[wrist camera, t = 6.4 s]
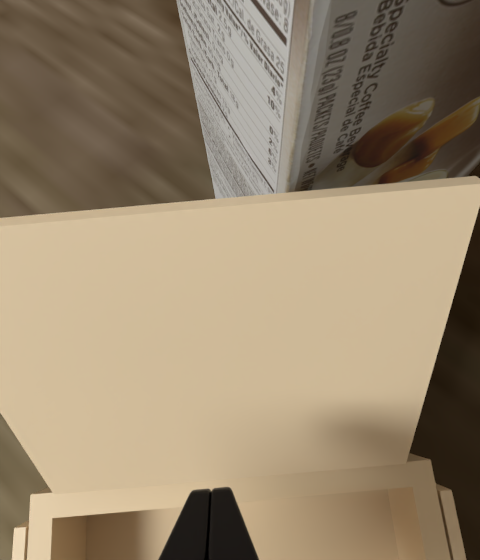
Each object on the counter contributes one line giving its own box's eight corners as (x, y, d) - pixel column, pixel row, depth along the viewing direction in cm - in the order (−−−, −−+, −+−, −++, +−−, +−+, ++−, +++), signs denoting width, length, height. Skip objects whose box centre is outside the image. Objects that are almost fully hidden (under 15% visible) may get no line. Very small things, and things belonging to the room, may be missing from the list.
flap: (486, 183, 8) (473, 174, 9) (-115, 236, 8) (-99, 225, 9) (406, 463, 14) (400, 450, 14) (53, 494, 14) (58, 480, 14)
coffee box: (360, 127, 22) (599, -479, 7) (429, 222, 21) (945, -308, 5) (210, 198, 21) (103, -326, 6) (269, 304, 20) (331, -53, 4)
